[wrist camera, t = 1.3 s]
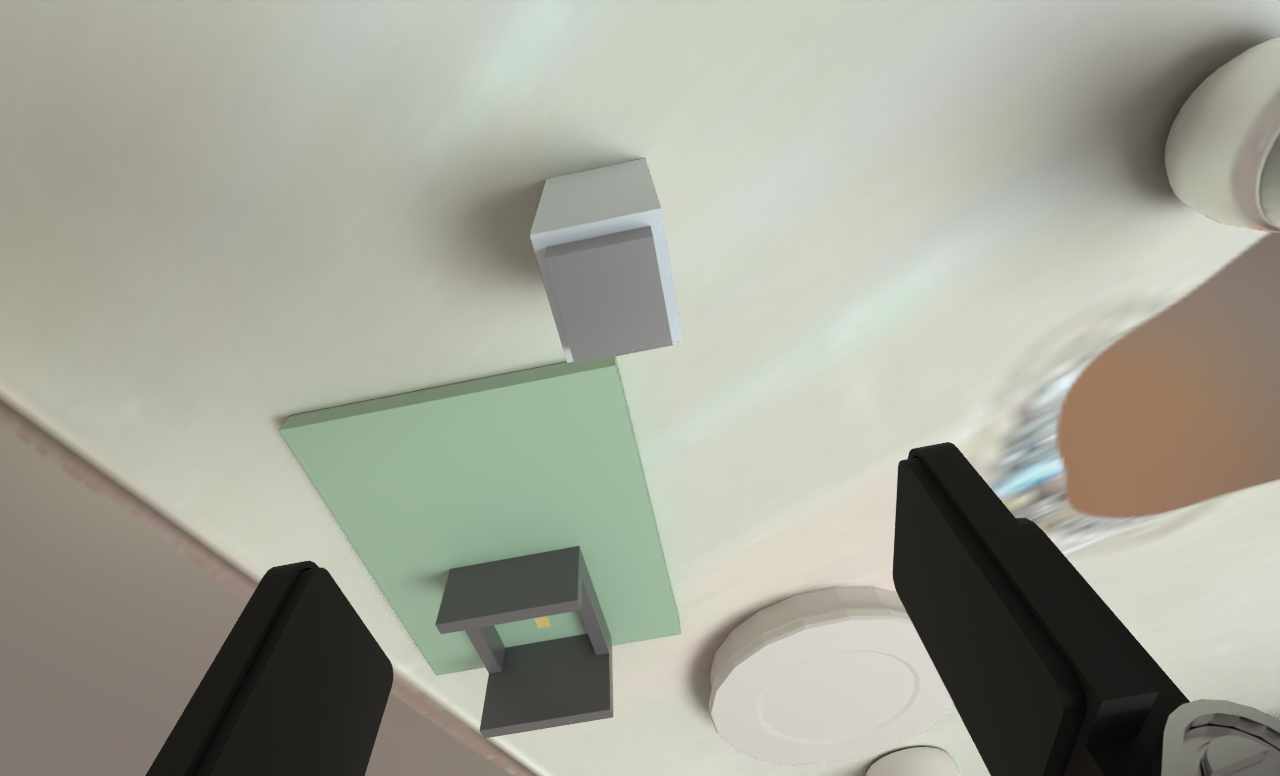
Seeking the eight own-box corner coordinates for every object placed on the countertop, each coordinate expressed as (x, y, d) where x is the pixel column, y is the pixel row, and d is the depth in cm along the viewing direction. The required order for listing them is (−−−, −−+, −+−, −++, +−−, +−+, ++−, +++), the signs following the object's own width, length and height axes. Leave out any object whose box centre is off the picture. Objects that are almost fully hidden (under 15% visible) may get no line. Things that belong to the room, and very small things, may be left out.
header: (449, 568, 34) (428, 649, 29) (579, 545, 33) (576, 624, 29) (497, 657, 38) (484, 738, 34) (611, 637, 38) (613, 717, 33)
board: (289, 416, 29) (278, 430, 28) (614, 352, 28) (614, 365, 27) (440, 658, 40) (436, 675, 39) (679, 617, 39) (681, 634, 38)
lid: (807, 761, 51) (818, 801, 48) (653, 661, 42) (656, 704, 39) (1001, 673, 45) (1024, 712, 43) (869, 537, 36) (890, 577, 34)
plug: (546, 178, 24) (525, 246, 17) (645, 157, 24) (664, 218, 17) (576, 293, 27) (569, 391, 20) (666, 275, 26) (689, 368, 20)
